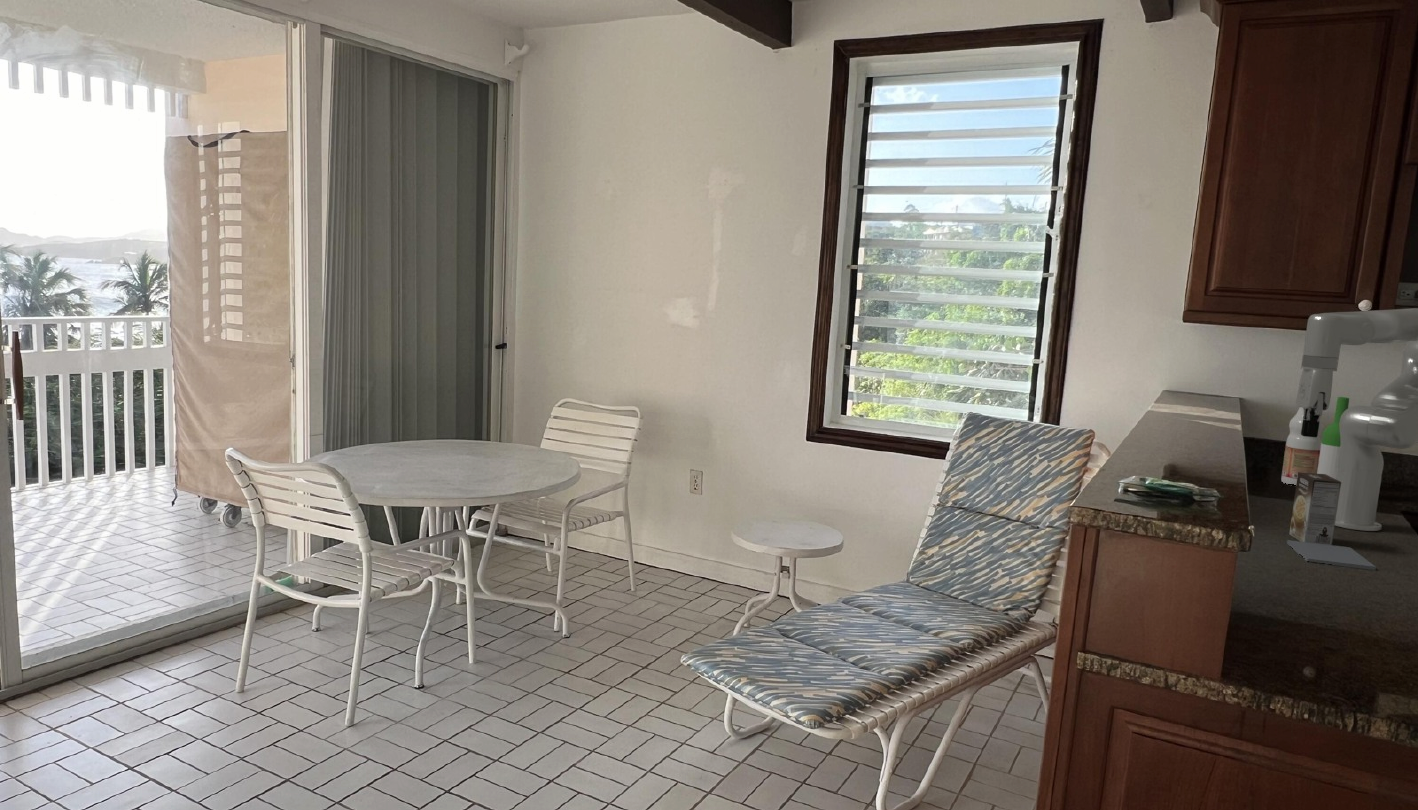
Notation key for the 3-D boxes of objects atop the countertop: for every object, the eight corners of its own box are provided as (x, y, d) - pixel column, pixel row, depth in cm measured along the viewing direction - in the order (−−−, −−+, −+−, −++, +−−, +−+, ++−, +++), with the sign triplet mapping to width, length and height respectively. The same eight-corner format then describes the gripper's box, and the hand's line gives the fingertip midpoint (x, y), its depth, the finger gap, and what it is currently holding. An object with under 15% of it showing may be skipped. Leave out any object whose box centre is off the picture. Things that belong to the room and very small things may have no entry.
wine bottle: (1351, 498, 273) (1365, 399, 269) (1325, 497, 273) (1339, 398, 269) (1333, 492, 281) (1347, 396, 277) (1308, 491, 281) (1322, 395, 277)
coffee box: (1287, 534, 227) (1296, 471, 225) (1316, 536, 226) (1325, 473, 223) (1303, 544, 218) (1313, 479, 216) (1333, 547, 217) (1343, 481, 214)
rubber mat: (1286, 543, 218) (1287, 540, 218) (1349, 550, 214) (1350, 547, 214) (1307, 562, 203) (1307, 558, 203) (1375, 570, 199) (1375, 566, 199)
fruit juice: (1273, 481, 294) (1285, 395, 290) (1297, 481, 296) (1309, 396, 292) (1298, 487, 285) (1310, 399, 281) (1322, 487, 287) (1335, 400, 283)
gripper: (1293, 360, 234) (1283, 430, 237) (1311, 364, 220) (1300, 439, 223) (1327, 363, 232) (1316, 433, 234) (1347, 367, 218) (1336, 442, 220)
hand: (1308, 436), depth 229 cm, fingers closed
